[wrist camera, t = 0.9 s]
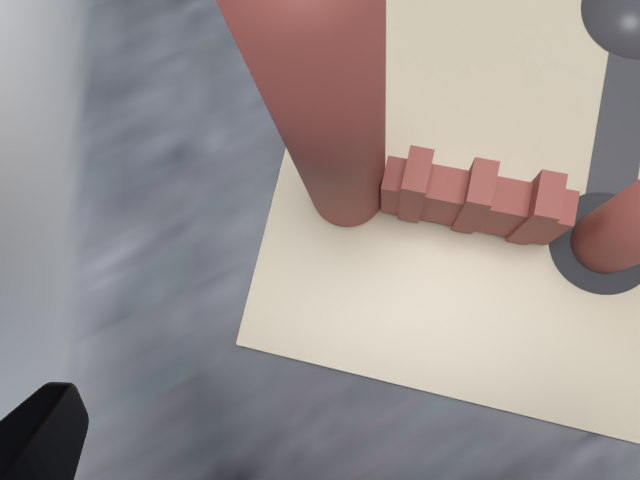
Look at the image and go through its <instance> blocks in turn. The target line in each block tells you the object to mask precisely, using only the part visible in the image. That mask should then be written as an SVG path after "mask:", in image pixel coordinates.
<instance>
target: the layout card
mask: <svg viewBox="0 0 640 480" xmlns="http://www.w3.org/2000/svg"><path fill="white" fill-rule="evenodd" d="M410 145H413V146H419V147H424V148H429V149H435V151H434V156H433V161H432V164H436V165H442V166H447V167H452V168H458V169H463V170H468V171H469V169H470V167H471V165H472V163H473V161H474V158H475V157H478V158H484V159H489V160H495V161H500V166H499V172H498V176H500V177H506V178H511V179H516V180H522V181H527V182H532V180H533V179H534V178H535V177H536V176H537V175H538V173H539V172H540V171H541V170H542V169H544V170H549V171H554V172H560V173H565V174H568V178H567V184H566V189H569V190H575V191H580V195H579V201H578V207H577V213H576V219H575V225H576V223H577V222H578V221H579V220H580V219H582V218H583V217H584V216H586V215H587V214H589V213H590V212H592V211H593V210H595V209H596V208H598V207H599V206H601V205H602V204H604V203H605V202H606V201H608V200H609V199H611V198H612V197H614V196H615V195H617V194H618V193H620V192H621V191H623V190H624V189H626V188H627V187H629V186H630V185H631V184H633V183H634V182H636V181H637V180H639V179H640V0H386V143H385V167H386V163H387V158H388V156H394V157H399V158H404V159H407V158H408V154H409V149H410ZM575 225H574V226H575ZM451 227H452V226H449V225H444V224H439V223H434V222H429V221H424V220H419V221H418V223H415V222H410V221H405V220H400V219H398V215H394V214H389V213H385V212H381V208H380V209H379V211H378V212H377V213H376V214H375V215H374V216H373V217H372V218H371V219H370V220H368V221H366V222H365V223H362V224H360V225H356V226H350V227H344V226H338V225H335V224H333V223H330V222H329V221H327V220H325V219H324V218H323V217H322V216H321V215H320V214H319V213H318V211H317V210H316V208H315V206H314V204H313V202H312V200H311V198H310V196H309V194H308V192H307V190H306V188H305V186H304V184H303V182H302V179H301V177H300V175H299V173H298V171H297V169H296V167H295V165H294V163H293V161H292V159H291V156H290V154H289V152H288V150H287V148H286V149H285V153H284V157H283V161H282V165H281V169H280V173H279V177H278V181H277V185H276V189H275V192H274V196H273V200H272V204H271V208H270V212H269V216H268V220H267V224H266V228H265V232H264V236H263V240H262V244H261V247H260V251H259V255H258V259H257V263H256V267H255V271H254V275H253V279H252V283H251V287H250V291H249V295H248V298H247V302H246V306H245V310H244V314H243V318H242V322H241V326H240V330H239V334H238V338H237V342H236V345H239V346H244V347H248V348H252V349H256V350H260V351H264V352H268V353H272V354H276V355H280V356H284V357H288V358H292V359H296V360H300V361H305V362H309V363H313V364H317V365H321V366H325V367H329V368H333V369H337V370H341V371H345V372H349V373H353V374H357V375H362V376H366V377H370V378H374V379H378V380H382V381H386V382H390V383H394V384H398V385H402V386H406V387H410V388H414V389H418V390H423V391H427V392H431V393H435V394H439V395H443V396H447V397H451V398H455V399H459V400H463V401H467V402H471V403H475V404H480V405H484V406H488V407H492V408H496V409H500V410H504V411H508V412H512V413H516V414H520V415H524V416H528V417H532V418H536V419H541V420H545V421H549V422H553V423H557V424H561V425H565V426H569V427H573V428H577V429H581V430H585V431H589V432H593V433H598V434H602V435H606V436H610V437H614V438H618V439H622V440H626V441H630V442H634V443H638V444H640V264H638V265H635V266H632V267H629V268H626V269H624V270H621V271H618V272H615V273H609V274H601V273H596V272H593V271H591V270H589V269H587V268H585V267H584V266H583V265H581V264H580V263H579V262H578V260H577V259H576V258H575V256H574V254H573V252H572V249H571V244H570V239H571V233H572V230H573V228H574V227H573V228H571V229H570V230H568V231H567V232H565V233H564V234H562V235H561V236H559V237H557V238H556V239H554V240H553V241H551V242H550V243H548V244H547V245H542V244H538V243H533V242H530V243H529V244H527V245H523V244H518V243H513V242H509V241H505V240H506V237H503V236H498V235H493V234H488V233H483V232H478V231H473V233H472V234H469V233H464V232H459V231H454V230H451Z"/></svg>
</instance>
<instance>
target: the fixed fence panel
mask: <svg viewBox="0 0 640 480" xmlns="http://www.w3.org/2000/svg"><path fill="white" fill-rule="evenodd" d="M570 244H571V249H572V252H573V254H574V256H575V258H576V259H577V260H578V262H579V263H580V264H581V265H583V266H584V267H585V268H587V269H589V270H591V271H593V272H596V273H601V274H609V273H615V272H618V271H621V270H624V269H626V268H629V267H632V266H635V265H638V264H640V179H639V180H637V181H636V182H634V183H633V184H631V185H630V186H629V187H627V188H626V189H624V190H623V191H621V192H620V193H618V194H617V195H615V196H614V197H612V198H611V199H609V200H608V201H606V202H605V203H604V204H602V205H601V206H599V207H598V208H596V209H595V210H593V211H592V212H590V213H589V214H587V215H586V216H584V217H583V218H582V219H580V220H579V221H578V222H577V223H576V225H575V226H574V228H573V230H572V233H571V239H570Z"/></svg>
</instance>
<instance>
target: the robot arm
mask: <svg viewBox="0 0 640 480" xmlns="http://www.w3.org/2000/svg"><path fill="white" fill-rule="evenodd" d="M88 423H89V418H88V413H87V411H86V408H85V406H84V404H83V401H82V399H81V396H80V394H79V392H78V389H77V387H76V386H75V385H74V384H72V383H67V382H50V383H47V384H45V385H43V386H42V387H41V388H39V389H38V390H37V391H36V392H34V393H33V394H32V395H31V396H30V397H28V398H27V399H26V400H25V401H24V402H22V403H21V404H20V405H19V406H18V407H16V408H15V409H14V410H13V411H12V412H10V413H9V414H8V415H7V416H6V417H4V418H3V419H2V420H1V421H0V480H74V477H75V474H76V470H77V466H78V463H79V459H80V455H81V452H82V448H83V444H84V441H85V437H86V433H87V430H88Z"/></svg>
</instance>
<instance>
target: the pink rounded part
mask: <svg viewBox="0 0 640 480" xmlns="http://www.w3.org/2000/svg"><path fill="white" fill-rule="evenodd" d="M216 2H217V4H218V6H219V8H220V10H221V13H222V15H223V17H224V19H225V21H226V23H227V25H228V27H229V29H230V31H231V33H232V36H233V38H234V40H235V42H236V44H237V46H238V48H239V50H240V52H241V54H242V56H243V58H244V61H245V63H246V65H247V67H248V69H249V71H250V73H251V75H252V77H253V79H254V81H255V83H256V86H257V88H258V90H259V92H260V94H261V96H262V98H263V100H264V102H265V104H266V106H267V109H268V111H269V113H270V115H271V117H272V119H273V121H274V123H275V125H276V127H277V129H278V131H279V134H280V136H281V138H282V140H283V142H284V144H285V146H286V148H287V150H288V152H289V154H290V156H291V159H292V161H293V163H294V165H295V167H296V169H297V171H298V173H299V175H300V177H301V179H302V182H303V184H304V186H305V188H306V190H307V192H308V194H309V196H310V198H311V200H312V202H313V204H314V206H315V208H316V210H317V211H318V213H319V214H320V215H321V216H322V217H323V218H324V219H325V220H327V221H329V222H330V223H333V224H335V225H338V226H344V227H350V226H356V225H360V224H362V223H365V222H366V221H368V220H370V219H371V218H372V217H373V216H374V215H375V214H376V213H377V212H378V211H379V209H380V208H381V212H385V213H389V214H394V215H398V219H400V220H405V221H410V222H415V223H418V221H419V220H424V221H429V222H434V223H439V224H444V225H449V226H452V227H451V230H454V231H459V232H464V233H469V234H472V233H473V231H478V232H483V233H488V234H493V235H498V236H503V237H506V240H505V241H509V242H513V243H518V244H523V245H527V244H529V243H530V242H533V243H538V244H542V245H547V244H548V243H550V242H551V241H553V240H554V239H556V238H557V237H559V236H561V235H562V234H564V233H565V232H567V231H568V230H570V229H571V228H573V227H574V225H575V219H576V213H577V207H578V201H579V195H580V191H575V190H569V189H566V184H567V178H568V174H565V173H560V172H554V171H549V170H544V169H542V170H541V171H540V172H539V173H538V175H537V176H536V177H535V178H534V179H533V180H532V182H527V181H522V180H516V179H511V178H506V177H500V176H498V172H499V166H500V161H495V160H489V159H484V158H478V157H475V158H474V161H473V163H472V165H471V167H470V169H469V171H468V170H463V169H458V168H452V167H447V166H442V165H436V164H432V161H433V156H434V151H435V149H429V148H424V147H419V146H413V145H410V149H409V154H408V158H407V159H404V158H399V157H394V156H388V158H387V163H386V167H385V143H386V0H216Z"/></svg>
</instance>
